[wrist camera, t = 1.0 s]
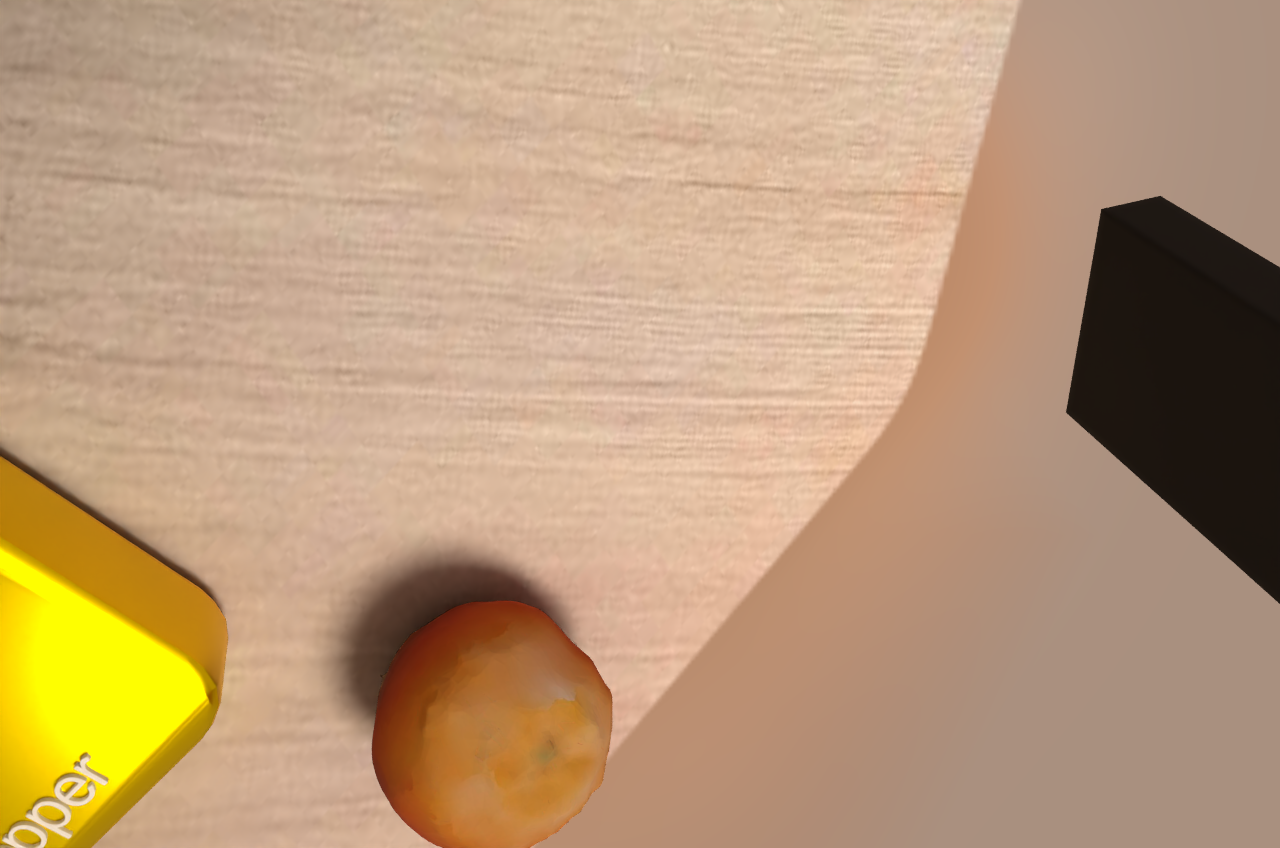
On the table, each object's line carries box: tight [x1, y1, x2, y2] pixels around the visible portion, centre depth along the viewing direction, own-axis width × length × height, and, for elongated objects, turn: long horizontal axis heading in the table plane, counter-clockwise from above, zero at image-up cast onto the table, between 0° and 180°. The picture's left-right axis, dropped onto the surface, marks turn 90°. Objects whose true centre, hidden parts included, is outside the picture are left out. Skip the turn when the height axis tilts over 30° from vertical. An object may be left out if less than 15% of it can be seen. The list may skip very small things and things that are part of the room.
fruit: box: [372, 601, 612, 848], centre depth 41 cm, size 8×8×8 cm
